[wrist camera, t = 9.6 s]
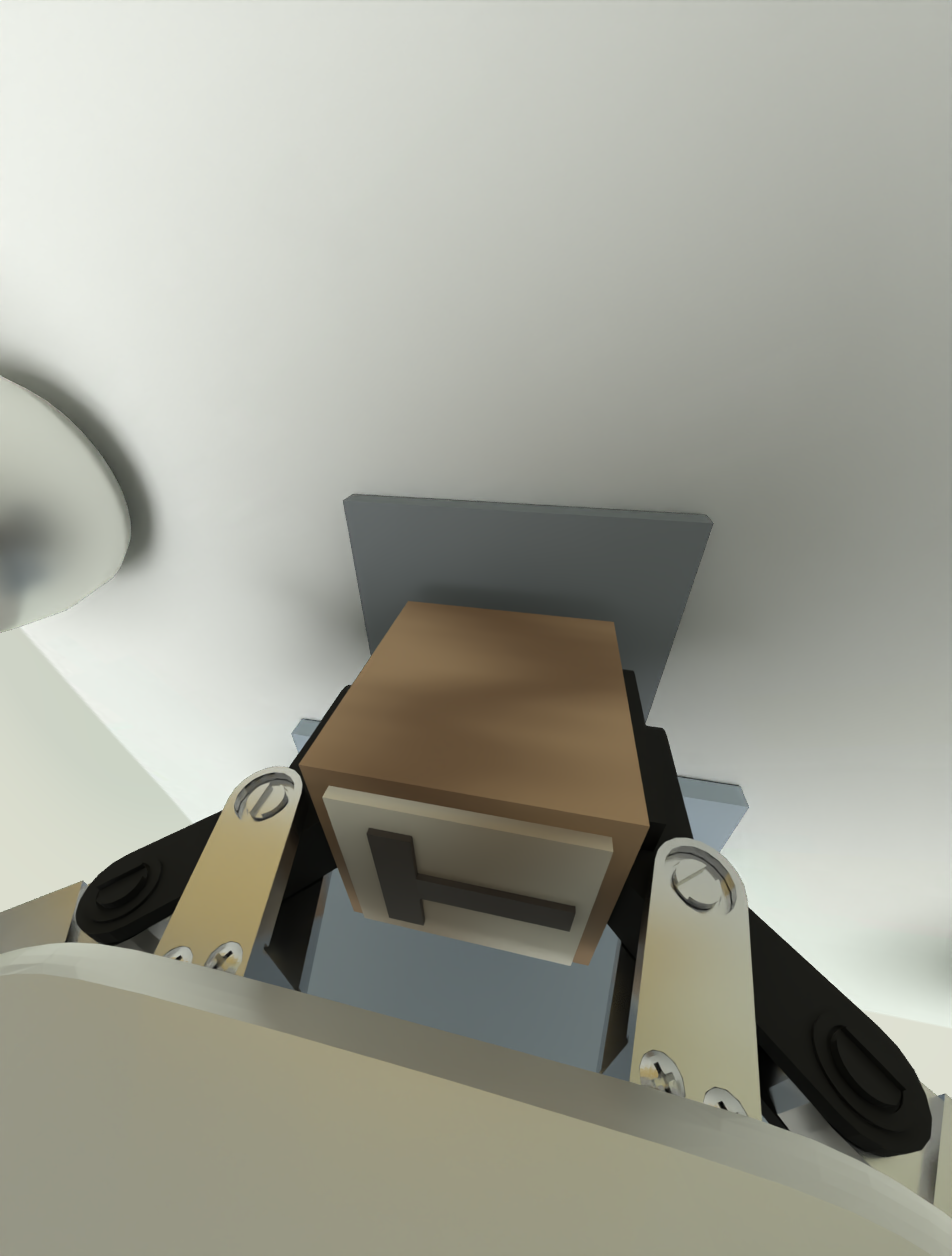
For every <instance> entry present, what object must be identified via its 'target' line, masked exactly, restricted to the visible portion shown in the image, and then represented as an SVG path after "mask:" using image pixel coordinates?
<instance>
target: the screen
mask: <svg viewBox="0 0 952 1256" xmlns="http://www.w3.org/2000/svg"><path fill="white" fill-rule="evenodd" d="M319 723H320V722H318V721H311V720H305V719H302V720H301V721H300V723H299V724H298V725H297V727H296V728H295V729H294V731H293V732H292V733H291V734H292V737H293V739H294V742H295V745H296V747H297V750H298V753H299V752H300V751H301V749H302V748H303V746H304V745H305V743H306V742H307V741H308V739H309V738H310V736H311V735H312V733H313V732H314V730H315V729H316V727H317V726H318V725H319ZM678 781H679V785H680V788H681V792H682V796H683V800H684V804H685V808H686V811H687V815H688V819H689V823H690V827H691V830H692V834H693V838H694V840H698V841H701V842H703V843H705V844H706V845H708V846H710V847H712V848H714V849H715V850H716V851H718V852H720V851H721V849H722V848H723V846H724V845H725V843H726V842H727V840H728V838H729V837H730V835H731V834H732V832H733V831H734V829H735V828H736V826H737V825H738V823H739V822H740V820H741V819H742V817H743V816H744V814H745V812H746V811H747V809H748V808H749V806H748V803H747V801H746V799H745V796H744V794H743V791H742V789H741V787H740V786H734V785H727V784H721V783H714V782H708V781H701V780H695V779H688V778H682V777H678ZM617 941H618V937H617V935H616V934H615V933H614V932H613V931H612V929H611V928H610V927H609V926H608V924H607V925H606V927H605V929H604V931H603V934H602V936H601V938H600V940H599V943H598V945H597V947H596V949H595V952H594V954H593V956H592V959H591V961H590V963H589V965H588V966H587V965H583V964H578V963H574V962H572V964H571V966H568V965H564V964H559V963H555V962H551V961H547V960H542V959H538V958H534V957H529V956H525V955H521V954H517V953H512V952H508V951H504V950H500V949H495V948H491V947H487V946H483V945H478V944H474V943H470V942H465V941H461V940H457V939H453V938H448V937H444V936H440V935H436V934H431V933H427V932H423V931H418V930H414V929H410V928H406V927H401V926H397V925H393V924H389V923H384V922H380V921H376V920H372V919H367V918H364V915H363V913H359V912H355V911H354V910H353V907H352V905H351V902H350V899H349V897H348V894H347V891H346V889H345V886H344V883H343V881H342V878H341V876H340V873H339V870H338V868H336V869H334V870H333V871H332V875H331V880H330V885H329V890H328V895H327V899H326V904H325V909H324V914H323V919H322V923H321V928H320V933H319V938H318V943H317V948H316V952H315V957H314V962H313V967H312V972H311V977H310V981H309V986H308V991H307V994H310V995H313V996H317V997H321V998H325V999H328V1000H332V1001H336V1002H340V1003H343V1004H347V1005H351V1006H354V1007H358V1008H362V1009H365V1010H369V1011H373V1012H376V1013H380V1014H384V1015H388V1016H391V1017H395V1018H399V1019H402V1020H406V1021H410V1022H413V1023H417V1024H421V1025H424V1026H428V1027H432V1028H436V1029H439V1030H443V1031H447V1032H450V1033H454V1034H458V1035H461V1036H465V1037H469V1038H472V1039H476V1040H480V1041H483V1042H487V1043H491V1044H494V1045H498V1046H502V1047H505V1048H509V1049H512V1050H516V1051H520V1052H523V1053H527V1054H531V1055H534V1056H538V1057H541V1058H545V1059H549V1060H552V1061H556V1062H560V1063H563V1064H567V1065H570V1066H574V1067H578V1068H581V1069H585V1070H589V1071H592V1072H596V1068H597V1062H598V1056H599V1050H600V1044H601V1038H602V1032H603V1026H604V1020H605V1014H606V1008H607V1001H608V995H609V989H610V983H611V977H612V971H613V965H614V959H615V953H616V947H617ZM761 1115H762V1114H761ZM762 1122H765V1123H768V1122H767V1121H766V1119H765V1118H764V1117H763V1116H762ZM768 1124H769V1123H768Z"/></svg>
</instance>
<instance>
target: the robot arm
mask: <svg viewBox="0 0 952 1256" xmlns="http://www.w3.org/2000/svg"><path fill="white" fill-rule="evenodd" d="M622 671H623V677H624V683H625V688H626V694H627V700H628V705H629V711H630V717H631V722H632V728H633V734H634V740H635V745H636V751H637V757H638V762H639V768H640V774H641V779H642V785H643V791H644V797H645V802H646V808H647V814H648V819H649V825H650V827H649V829H648V831H647V834H646V836H645V838H644V841H643V843H642V845H641V847H640V850H639V852H638V854H637V856H636V859H635V861H634V863H633V866H632V868H631V870H630V872H629V875H628V877H627V879H626V881H625V884H624V886H623V888H622V890H621V893H620V895H619V897H618V900H617V902H616V904H615V906H614V909H613V911H612V913H611V915H610V918H609V920H608V922H607V924H608V926H609V927H610V928H611V929H612V931H613V932H614V933H615V934H616V935H617V937H618V941H617V947H616V953H615V959H614V965H613V971H612V977H611V983H610V989H609V995H608V1001H607V1008H606V1014H605V1020H604V1026H603V1032H602V1038H601V1044H600V1050H599V1056H598V1062H597V1068H596V1072H592V1071H589V1070H585V1069H581V1068H578V1067H574V1066H570V1065H567V1064H563V1063H560V1062H556V1061H552V1060H549V1059H545V1058H541V1057H538V1056H534V1055H531V1054H527V1053H523V1052H520V1051H516V1050H512V1049H509V1048H505V1047H502V1046H498V1045H494V1044H491V1043H487V1042H483V1041H480V1040H476V1039H472V1038H469V1037H465V1036H461V1035H458V1034H454V1033H450V1032H447V1031H443V1030H439V1029H436V1028H432V1027H428V1026H424V1025H421V1024H417V1023H413V1022H410V1021H406V1020H402V1019H399V1018H395V1017H391V1016H388V1015H384V1014H380V1013H376V1012H373V1011H369V1010H365V1009H362V1008H358V1007H354V1006H351V1005H347V1004H343V1003H340V1002H336V1001H332V1000H328V999H325V998H321V997H317V996H313V995H310V994H307V991H308V986H309V981H310V977H311V972H312V967H313V962H314V957H315V952H316V948H317V943H318V938H319V933H320V928H321V923H322V919H323V914H324V909H325V904H326V899H327V895H328V890H329V885H330V880H331V875H332V871H333V870H334V869H336V868H337V865H336V862H335V860H334V857H333V854H332V852H331V849H330V846H329V844H328V841H327V838H326V836H325V833H324V830H323V828H322V825H321V823H320V820H319V817H318V815H317V812H316V809H315V807H314V804H313V801H312V799H311V796H310V793H309V791H308V788H307V785H306V783H305V780H304V777H303V775H302V772H301V770H300V767H299V763H300V762H301V760H302V759H303V757H304V756H305V754H306V753H307V751H308V750H309V748H310V747H311V745H312V744H313V742H314V741H315V739H316V738H317V736H318V735H319V733H320V732H321V730H322V729H323V727H324V726H325V724H326V723H327V722H328V720H329V719H330V717H331V716H332V714H333V713H334V711H335V710H336V708H337V707H338V705H339V704H340V702H341V701H342V699H343V698H344V696H345V695H346V693H347V692H348V690H349V689H350V687H351V686H352V685H348V686H346V687H345V688H344V689H343V690H342V691H341V692H340V694H339V695H338V697H337V698H336V700H335V701H334V703H333V704H332V706H331V707H330V708H329V710H328V711H327V713H326V714H325V716H324V717H323V719H322V720H321V722H320V723H319V725H318V726H317V727H316V729H315V730H314V732H313V733H312V735H311V736H310V738H309V739H308V741H307V742H306V743H305V745H304V746H303V748H302V749H301V751H300V752H299V754H298V755H297V757H296V758H295V759H294V761H293V762H292V764H291V765H290V767H289V768H288V767H280V766H276V767H270V768H265V769H263V770H260V771H258V772H255V773H254V774H252V775H250V776H249V777H247V778H246V779H244V780H243V781H242V782H241V783H240V784H239V785H238V786H237V787H236V788H235V789H234V791H233V792H232V794H231V795H230V797H229V798H228V800H227V802H226V804H225V806H224V809H223V810H222V811H220V812H218V813H216V814H213V815H211V816H209V817H207V818H205V819H203V820H201V821H198V822H196V823H194V824H192V825H190V826H188V827H186V828H183V829H181V830H180V831H177V832H175V833H173V834H171V835H168V836H166V837H164V838H162V839H160V840H158V841H156V842H153V843H151V844H149V845H147V846H145V847H143V848H140V849H138V850H136V851H135V852H132V853H130V854H128V855H126V856H124V857H123V858H121V859H119V860H117V861H116V862H114V863H112V864H111V865H110V866H109V867H107V868H106V869H105V870H104V871H102V872H101V873H100V874H99V875H98V876H97V877H96V878H95V879H94V880H93V882H92V883H91V884H88V885H87V884H86V883H85V882H84V881H80V882H78V883H75V884H73V885H70V886H68V887H65V888H62V889H60V890H57V891H54V892H52V893H49V894H47V895H44V896H42V897H39V898H36V899H34V900H31V901H29V902H26V903H24V904H21V905H18V906H16V907H13V908H11V909H8V910H6V911H3V912H0V1256H952V1099H951V1098H950V1097H949V1096H948V1095H946V1094H942V1095H939V1096H937V1095H936V1094H935V1093H933V1092H932V1091H931V1090H930V1089H928V1088H927V1087H926V1086H925V1085H924V1084H923V1083H921V1082H920V1081H919V1079H918V1077H917V1075H916V1073H915V1071H914V1069H913V1068H912V1066H911V1065H910V1064H909V1062H908V1061H907V1059H906V1058H905V1056H904V1055H903V1053H902V1052H901V1051H900V1049H899V1048H898V1047H897V1045H896V1044H895V1043H894V1042H893V1041H892V1040H891V1039H890V1038H889V1037H888V1036H887V1035H886V1034H885V1033H884V1032H883V1031H882V1030H881V1029H880V1027H878V1026H877V1025H876V1024H875V1023H874V1022H873V1021H872V1020H871V1019H870V1018H869V1017H867V1015H865V1014H864V1013H863V1012H862V1011H861V1010H860V1009H859V1008H858V1007H857V1006H856V1005H855V1004H853V1003H852V1002H851V1001H850V1000H849V999H848V998H847V997H846V996H845V995H844V994H842V993H841V992H840V991H839V990H838V989H837V988H836V987H835V986H834V985H833V984H832V983H830V982H829V981H828V980H827V979H826V978H825V977H824V976H823V975H822V974H821V973H820V972H818V971H817V970H816V969H815V968H814V967H813V966H812V965H811V964H810V963H809V962H808V961H806V960H805V959H804V958H803V957H802V956H801V955H800V954H799V953H798V952H797V951H796V950H794V949H793V948H792V947H791V946H790V945H789V944H788V943H787V942H786V941H785V940H784V939H782V938H781V937H780V936H779V935H778V934H777V933H776V932H775V931H774V930H773V929H771V928H770V927H769V926H768V925H767V924H766V923H765V922H764V921H763V920H762V919H761V918H759V917H758V916H757V915H756V914H755V913H754V912H753V911H752V910H751V909H750V908H749V907H748V900H747V895H746V891H745V886H744V884H743V882H742V880H741V878H740V876H739V874H738V872H737V871H736V870H735V868H734V867H733V866H732V865H731V864H730V862H729V861H728V860H727V859H726V858H725V857H724V856H723V855H721V854H720V853H719V852H718V851H716V850H715V849H714V848H712V847H710V846H708V845H706V844H705V843H703V842H701V841H698V840H694V838H693V834H692V830H691V827H690V823H689V819H688V815H687V811H686V808H685V804H684V800H683V796H682V792H681V788H680V785H679V781H678V777H677V773H676V769H675V765H674V762H673V758H672V754H671V750H670V746H669V743H668V739H667V735H666V733H665V731H664V729H663V728H658V727H651V726H646V724H645V719H644V715H643V710H642V705H641V700H640V696H639V691H638V686H637V681H636V677H635V673H634V671H633V670H625V669H622ZM761 1114H762V1115H761ZM762 1116H763V1117H764V1118H765V1119H766V1121H767V1122H768V1123H769V1124H768V1123H765V1122H762Z"/></svg>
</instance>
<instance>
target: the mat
mask: <svg viewBox="0 0 952 1256" xmlns="http://www.w3.org/2000/svg"><path fill="white" fill-rule="evenodd" d="M343 504H344V509H345V515H346V520H347V526H348V531H349V537H350V542H351V548H352V553H353V559H354V564H355V570H356V576H357V581H358V587H359V592H360V598H361V603H362V609H363V614H364V620H365V625H366V631H367V636H368V642H369V648H370V653H371V656H372V654H373V653H374V651H375V650H376V648H377V647H378V645H379V644H380V642H381V641H382V639H383V638H384V636H385V635H386V633H387V632H388V630H389V629H390V627H391V626H392V624H393V623H394V621H395V620H396V618H397V617H398V615H399V614H400V612H401V611H402V609H403V608H404V606H405V605H406V603H407V602H408V601H414V602H423V603H433V604H443V605H453V606H463V607H473V608H482V609H492V610H502V611H512V612H522V613H531V614H541V615H551V616H561V617H571V618H581V619H590V620H600V621H610V622H614V626H615V631H616V637H617V643H618V648H619V654H620V660H621V665H622V669H625V670H633V671H634V673H635V677H636V681H637V686H638V691H639V696H640V700H641V705H642V710H643V715H644V719H645V723H646V720H647V717H648V714H649V712H650V709H651V706H652V703H653V700H654V697H655V694H656V691H657V688H658V685H659V682H660V679H661V676H662V673H663V670H664V667H665V664H666V661H667V659H668V656H669V653H670V650H671V647H672V644H673V641H674V638H675V635H676V632H677V629H678V626H679V623H680V620H681V617H682V614H683V611H684V609H685V606H686V603H687V600H688V597H689V594H690V591H691V588H692V585H693V582H694V579H695V576H696V573H697V570H698V567H699V564H700V561H701V558H702V556H703V553H704V550H705V547H706V544H707V541H708V538H709V535H710V532H711V529H712V526H713V522H712V521H711V520H710V519H709V518H708V516H707V515H701V514H684V513H666V512H649V511H632V510H614V509H597V508H580V507H563V506H545V505H528V504H511V503H494V502H476V501H459V500H442V499H425V498H407V497H390V496H373V495H355V494H353V495H351V496H350V497H348V498H346V499H345V500H343Z"/></svg>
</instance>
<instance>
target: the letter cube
mask: <svg viewBox="0 0 952 1256" xmlns="http://www.w3.org/2000/svg"><path fill="white" fill-rule="evenodd" d="M299 767H300V770H301V772H302V775H303V777H304V780H305V783H306V785H307V788H308V791H309V793H310V796H311V799H312V801H313V804H314V807H315V809H316V812H317V815H318V817H319V820H320V823H321V825H322V828H323V830H324V833H325V836H326V838H327V841H328V844H329V846H330V849H331V852H332V854H333V857H334V860H335V862H336V865H337V868H338V870H339V873H340V876H341V878H342V881H343V883H344V886H345V889H346V891H347V894H348V897H349V899H350V902H351V905H352V907H353V910H354V911H355V912H359V913H363V915H364V918H367V919H372V920H376V921H380V922H384V923H389V924H393V925H397V926H401V927H406V928H410V929H414V930H418V931H423V932H427V933H431V934H436V935H440V936H444V937H448V938H453V939H457V940H461V941H465V942H470V943H474V944H478V945H483V946H487V947H491V948H495V949H500V950H504V951H508V952H512V953H517V954H521V955H525V956H529V957H534V958H538V959H542V960H547V961H551V962H555V963H559V964H564V965H568V966H571V964H572V962H574V963H578V964H583V965H587V966H588V965H589V963H590V961H591V959H592V956H593V954H594V952H595V949H596V947H597V945H598V943H599V940H600V938H601V936H602V934H603V931H604V929H605V927H606V925H607V922H608V920H609V918H610V915H611V913H612V911H613V909H614V906H615V904H616V902H617V900H618V897H619V895H620V893H621V890H622V888H623V886H624V884H625V881H626V879H627V877H628V875H629V872H630V870H631V868H632V866H633V863H634V861H635V859H636V856H637V854H638V852H639V850H640V847H641V845H642V843H643V841H644V838H645V836H646V834H647V831H648V829H649V827H650V825H649V819H648V814H647V808H646V802H645V797H644V791H643V785H642V779H641V774H640V768H639V762H638V757H637V751H636V745H635V740H634V734H633V728H632V722H631V717H630V711H629V705H628V700H627V694H626V688H625V683H624V677H623V671H622V665H621V660H620V654H619V648H618V643H617V637H616V631H615V626H614V622H610V621H600V620H590V619H581V618H571V617H561V616H551V615H541V614H531V613H522V612H512V611H502V610H492V609H482V608H473V607H463V606H453V605H443V604H433V603H423V602H414V601H408V602H407V603H406V605H405V606H404V608H403V609H402V611H401V612H400V614H399V615H398V617H397V618H396V620H395V621H394V623H393V624H392V626H391V627H390V629H389V630H388V632H387V633H386V635H385V636H384V638H383V639H382V641H381V642H380V644H379V645H378V647H377V648H376V650H375V651H374V653H373V654H372V656H371V657H370V659H369V660H368V662H367V663H366V665H365V666H364V668H363V669H362V671H361V672H360V674H359V675H358V677H357V678H356V680H355V681H354V683H353V684H352V686H351V687H350V689H349V690H348V692H347V693H346V695H345V696H344V698H343V699H342V701H341V702H340V704H339V705H338V707H337V708H336V710H335V711H334V713H333V714H332V716H331V717H330V719H329V720H328V722H327V723H326V724H325V726H324V727H323V729H322V730H321V732H320V733H319V735H318V736H317V738H316V739H315V741H314V742H313V744H312V745H311V747H310V748H309V750H308V751H307V753H306V754H305V756H304V757H303V759H302V760H301V762H300V763H299Z"/></svg>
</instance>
